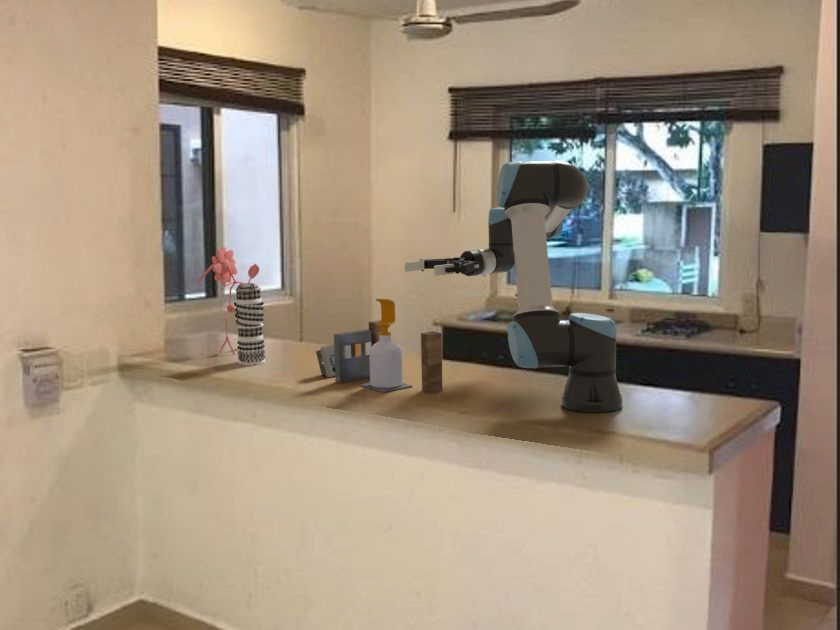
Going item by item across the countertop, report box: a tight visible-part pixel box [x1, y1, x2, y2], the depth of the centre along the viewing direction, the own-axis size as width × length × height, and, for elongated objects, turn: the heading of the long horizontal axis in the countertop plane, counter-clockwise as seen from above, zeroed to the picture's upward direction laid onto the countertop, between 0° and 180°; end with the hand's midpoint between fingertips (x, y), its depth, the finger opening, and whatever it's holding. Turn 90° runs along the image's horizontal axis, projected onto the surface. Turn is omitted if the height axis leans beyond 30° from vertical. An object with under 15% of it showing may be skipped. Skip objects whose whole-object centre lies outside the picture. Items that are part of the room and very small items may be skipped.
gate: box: [368, 319, 443, 394], centre depth 268 cm, size 29×4×16 cm, turn 38°
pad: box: [360, 382, 413, 394], centre depth 266 cm, size 11×10×1 cm
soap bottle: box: [369, 298, 403, 388], centre depth 264 cm, size 9×9×25 cm
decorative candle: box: [233, 282, 266, 366], centre depth 299 cm, size 9×9×25 cm
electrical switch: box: [315, 343, 335, 378], centre depth 282 cm, size 9×5×9 cm, turn 141°
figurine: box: [197, 246, 266, 355], centre depth 318 cm, size 15×26×35 cm, turn 150°
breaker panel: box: [333, 328, 372, 384], centre depth 273 cm, size 4×12×14 cm, turn 128°
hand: (419, 268), depth 268 cm, fingers open, 13 cm apart
